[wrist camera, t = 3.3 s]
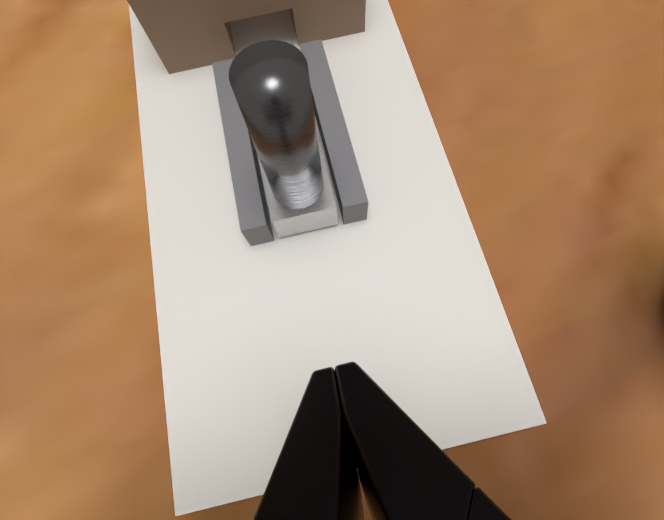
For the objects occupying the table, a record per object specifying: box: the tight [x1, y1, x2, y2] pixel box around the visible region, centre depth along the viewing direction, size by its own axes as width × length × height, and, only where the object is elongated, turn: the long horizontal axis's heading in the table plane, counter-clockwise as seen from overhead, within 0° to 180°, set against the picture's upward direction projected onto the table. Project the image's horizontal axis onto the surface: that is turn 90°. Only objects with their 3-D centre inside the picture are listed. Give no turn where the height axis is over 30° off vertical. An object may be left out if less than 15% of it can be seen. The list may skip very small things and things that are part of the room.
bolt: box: [229, 40, 338, 238], centre depth 17 cm, size 10×3×9 cm, turn 13°
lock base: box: [127, 0, 546, 516], centre depth 18 cm, size 30×16×10 cm, turn 13°
